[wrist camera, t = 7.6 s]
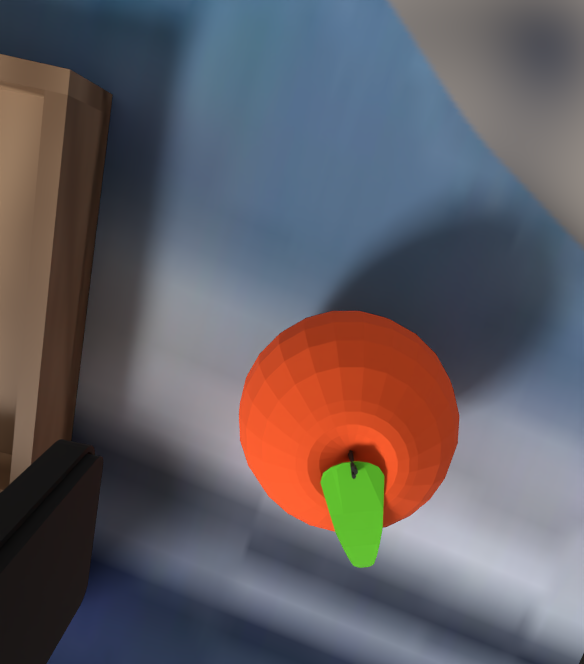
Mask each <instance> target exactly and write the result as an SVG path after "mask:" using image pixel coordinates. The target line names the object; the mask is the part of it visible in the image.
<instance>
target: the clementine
mask: <svg viewBox="0 0 584 664" xmlns="http://www.w3.org/2000/svg"><path fill="white" fill-rule="evenodd" d="M239 424H240V442H241V445H242V448H243V451H244V454H245V457H246V460H247V463H248V466H249V467H250V469H251V470H252V472H253V473H254V475H255V476H256V478H257V479H258V481H259V483H260V484H261V486H262V487H263V489H264V490H265V492H266V493H267V495H268V496H269V497H270V498H271V499H272V500H273V501H274V502H276V503H277V504H278V505H279V506H280V507H281V508H282V509H283V510H284V511H286V512H287V513H288V514H290V515H292V516H294V517H296V518H297V519H299V520H301V521H303V522H305V523H307V524H309V525H311V526H315V527H319V528H323V529H327V530H331V531H335V532H336V535H337V537H338V539H339V541H340V543H341V545H342V547H343V549H344V551H345V553H346V555H347V556H348V558H349V560H350V561H351V563H352V564H353V566H356V567H359V568H362V567H370V566H371V565H373V564H374V562H375V559H376V557H377V553H378V549H379V544H380V539H381V534H382V528H383V527H387V526H389V525H391V524H394V523H396V522H398V521H400V520H402V519H404V518H406V517H408V516H410V515H411V514H413V513H414V512H415V511H416V510H417V509H419V508H420V507H421V506H422V505H424V504H425V503H426V502H427V501H428V500H430V498H431V497H432V496H433V494H434V493H435V491H436V490H437V489H438V487H439V486H440V484H441V483H442V482H443V480H444V479H445V476H446V474H447V471H448V468H449V466H450V463H451V460H452V457H453V455H454V452H455V449H456V446H457V444H458V430H459V412H458V408H457V404H456V399H455V395H454V390H453V387H452V384H451V381H450V378H449V377H448V375H447V373H446V371H445V369H444V368H443V366H442V364H441V362H440V360H439V359H438V357H437V355H436V354H435V353H434V352H433V351H432V350H431V349H430V348H429V347H428V346H427V345H426V344H425V343H424V342H423V341H422V340H421V339H420V338H419V337H418V336H417V335H416V334H415V333H413V332H411V331H410V330H408V329H406V328H404V327H403V326H401V325H399V324H397V323H395V322H394V321H392V320H390V319H388V318H385V317H381V316H378V315H374V314H370V313H366V312H362V311H330V312H326V313H323V314H319V315H315V316H311V317H308V318H305V319H303V320H302V321H300V322H298V323H297V324H295V325H293V326H291V327H290V328H288V329H286V330H284V331H283V332H282V333H280V334H279V335H278V336H277V337H276V338H275V339H274V340H273V341H272V342H271V343H270V344H269V345H268V346H267V347H266V348H265V349H264V350H263V351H262V352H261V353H260V354H259V356H258V358H257V359H256V361H255V363H254V365H253V366H252V368H251V370H250V372H249V373H248V375H247V377H246V380H245V385H244V389H243V393H242V397H241V401H240V409H239Z"/></svg>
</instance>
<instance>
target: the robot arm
mask: <svg viewBox="0 0 584 664" xmlns="http://www.w3.org/2000/svg"><path fill="white" fill-rule="evenodd" d="M102 469H103V458H102V457H101V456H96V455H95V450H94V447H93V446H91V445H86V444H82V443H77V442H72V441H68V440H63V439H59V440H58V441H56V442H55V443H54V444H53V445H52V446H51V447H49V448H48V449H47V450H46V451H45V452H44V453H43V454H42V455H41V456H40V457H39V458H38V459H37V460H35V461H34V462H33V463H32V464H31V465H30V466H29V467H28V468H27V469H26V470H25V471H24V472H22V473H21V474H20V475H19V476H18V477H17V478H16V479H15V480H14V481H13V482H12V483H11V484H10V485H8V486H7V487H6V488H5V489H4V490H3V491H2V492H1V493H0V664H46V663H47V662H48V660H49V658H50V656H51V655H52V653H53V651H54V650H55V648H56V646H57V644H58V643H59V641H60V639H61V637H62V636H63V634H64V632H65V631H66V629H67V627H68V625H69V624H70V622H71V620H72V618H73V617H74V615H75V613H76V612H77V610H78V608H79V606H80V604H81V602H82V600H83V598H84V595H85V592H86V588H87V584H88V578H89V570H90V563H91V555H92V547H93V539H94V531H95V524H96V516H97V508H98V500H99V493H100V485H101V477H102ZM579 664H584V654H583V656H582V658H581V660H580V663H579Z"/></svg>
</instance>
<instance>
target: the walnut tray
mask: <svg viewBox="0 0 584 664" xmlns="http://www.w3.org/2000/svg"><path fill="white" fill-rule="evenodd" d="M111 104H112V94H111V93H109V92H107V91H106V90H104V89H102V88H101V87H99V86H97V85H95V84H94V83H92V82H90V81H89V80H87V79H85V78H84V77H82V76H80V75H79V74H77V73H75V72H74V71H72V70H70V69H66V68H61V67H56V66H52V65H47V64H43V63H38V62H34V61H29V60H25V59H20V58H16V57H11V56H7V55H2V54H0V493H1V492H2V491H3V490H4V489H5V488H6V487H7V486H8V485H10V484H11V483H12V482H13V481H14V480H15V479H16V478H17V477H18V476H19V475H20V474H21V473H22V472H24V471H25V470H26V469H27V468H28V467H29V466H30V465H31V464H32V463H33V462H34V461H35V460H37V459H38V458H39V457H40V456H41V455H42V454H43V453H44V452H45V451H46V450H47V449H48V448H49V447H51V446H52V445H53V444H54V443H55V442H56V441H58V440H59V439H63V440H68V441H71V438H72V430H73V421H74V413H75V405H76V396H77V388H78V379H79V371H80V363H81V354H82V346H83V338H84V329H85V321H86V313H87V304H88V296H89V288H90V279H91V271H92V262H93V254H94V246H95V237H96V229H97V221H98V212H99V204H100V196H101V187H102V179H103V171H104V162H105V154H106V145H107V137H108V129H109V120H110V112H111Z"/></svg>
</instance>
